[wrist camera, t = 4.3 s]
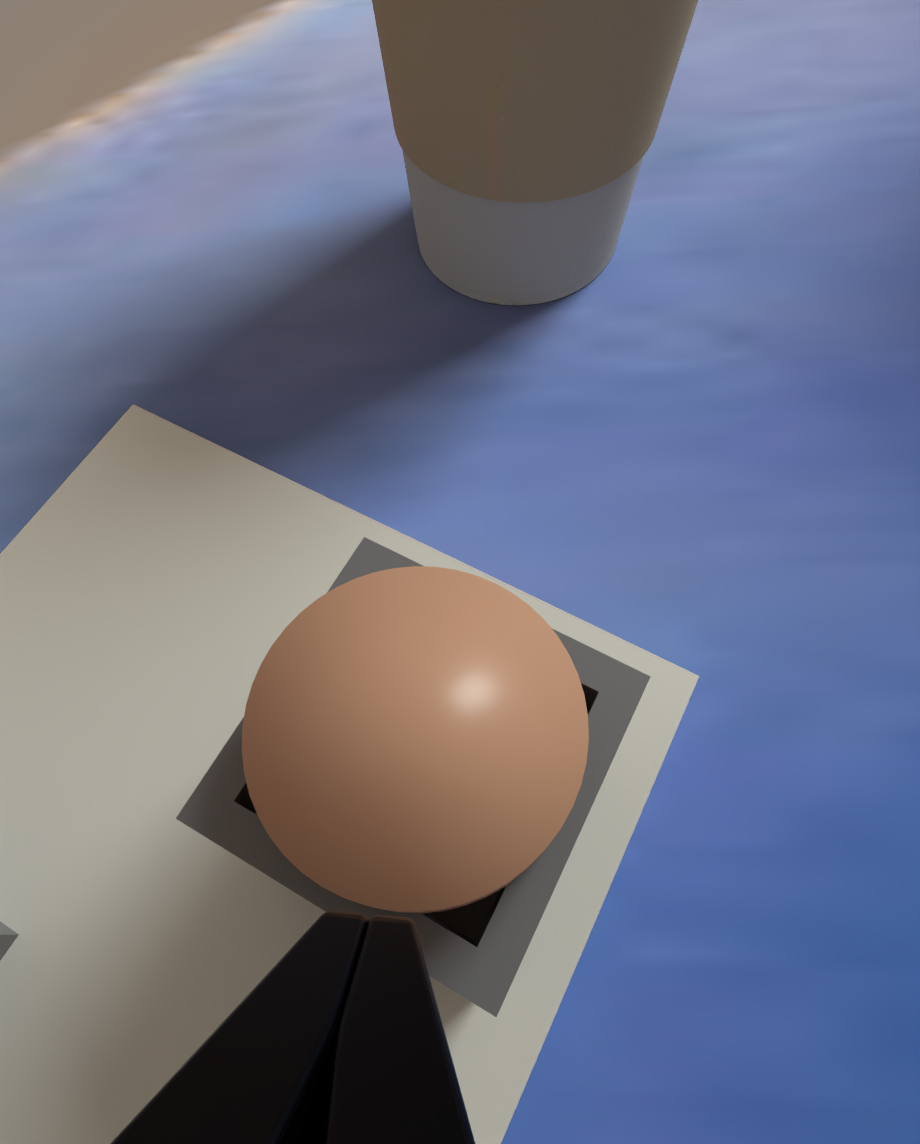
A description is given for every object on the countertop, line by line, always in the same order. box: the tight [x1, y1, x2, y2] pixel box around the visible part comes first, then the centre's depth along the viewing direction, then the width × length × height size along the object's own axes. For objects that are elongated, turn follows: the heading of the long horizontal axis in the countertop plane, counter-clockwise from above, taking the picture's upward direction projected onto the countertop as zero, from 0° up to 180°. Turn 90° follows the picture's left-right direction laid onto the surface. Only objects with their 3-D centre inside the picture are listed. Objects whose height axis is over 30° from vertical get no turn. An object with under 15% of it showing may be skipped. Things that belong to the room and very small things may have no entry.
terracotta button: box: [242, 566, 589, 913], centre depth 13 cm, size 5×5×7 cm
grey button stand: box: [0, 404, 699, 1144], centre depth 14 cm, size 19×17×7 cm
